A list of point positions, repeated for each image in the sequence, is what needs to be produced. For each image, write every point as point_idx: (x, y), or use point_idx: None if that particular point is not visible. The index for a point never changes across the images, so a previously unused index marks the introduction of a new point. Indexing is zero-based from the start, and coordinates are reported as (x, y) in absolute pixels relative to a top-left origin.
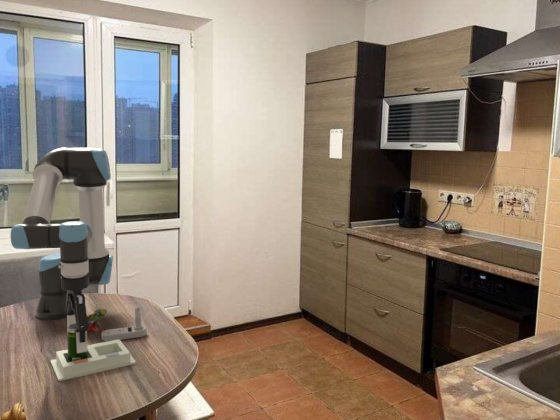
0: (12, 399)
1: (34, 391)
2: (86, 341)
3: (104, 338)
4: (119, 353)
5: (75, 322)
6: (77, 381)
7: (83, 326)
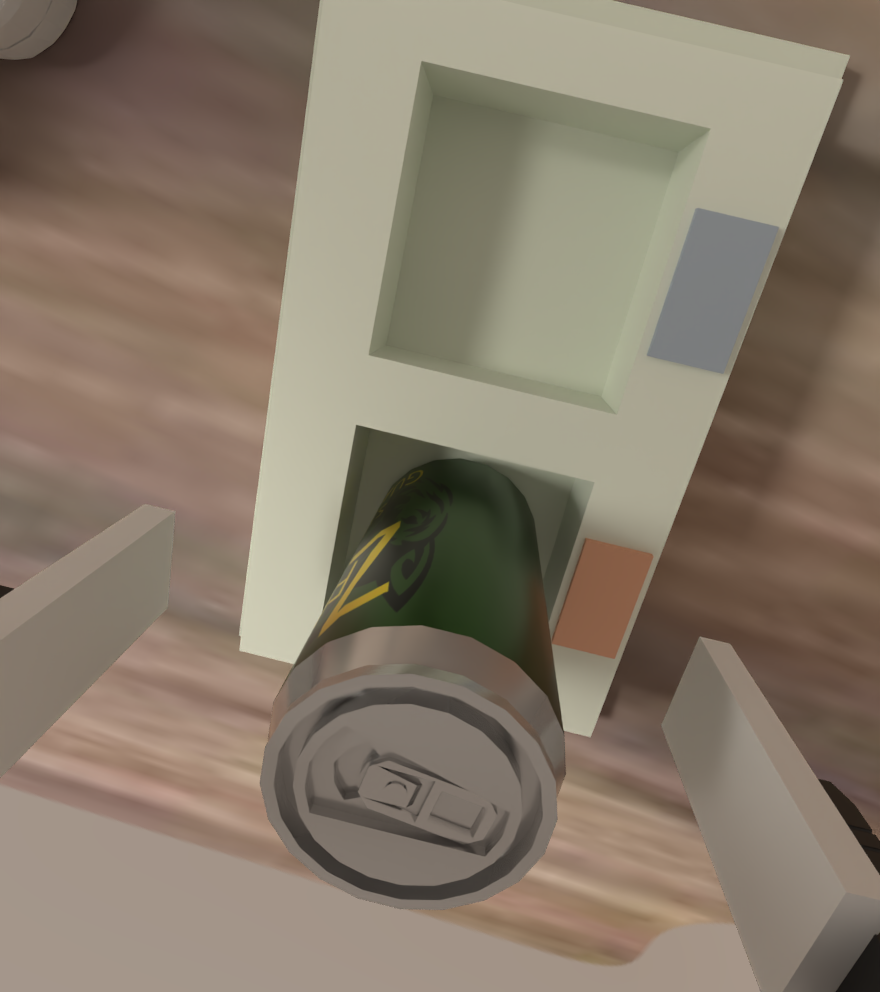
0: (603, 939)
1: (605, 846)
2: (781, 736)
3: (27, 39)
4: (741, 204)
5: (63, 617)
6: (698, 630)
7: (469, 715)
